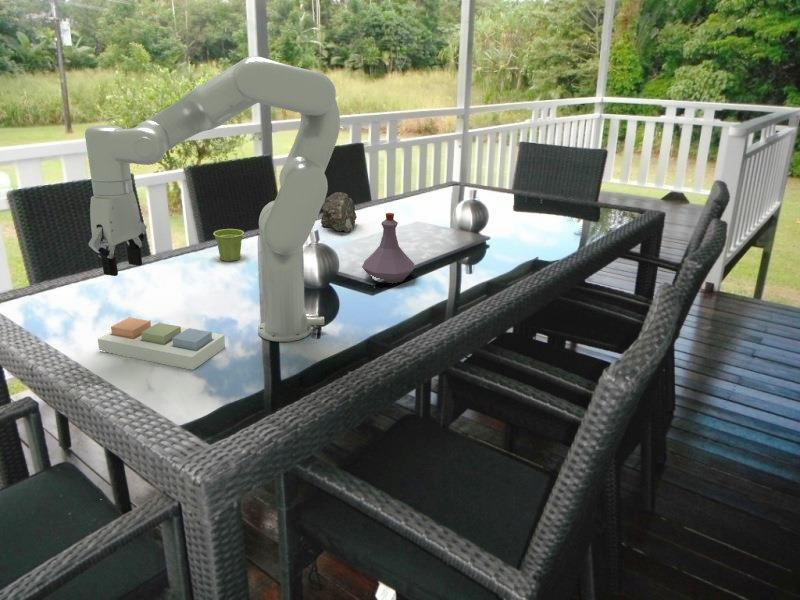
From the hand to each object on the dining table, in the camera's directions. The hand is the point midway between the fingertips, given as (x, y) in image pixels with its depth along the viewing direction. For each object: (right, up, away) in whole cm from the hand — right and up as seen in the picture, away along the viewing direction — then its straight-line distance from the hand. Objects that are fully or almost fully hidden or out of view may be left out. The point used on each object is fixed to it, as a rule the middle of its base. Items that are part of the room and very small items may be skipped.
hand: (123, 269), depth 136 cm
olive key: (+7, -15, +3) cm, 17 cm away
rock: (+36, +21, +107) cm, 114 cm away
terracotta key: (-1, -14, +5) cm, 15 cm away
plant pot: (+5, +6, +67) cm, 67 cm away
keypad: (+7, -18, +4) cm, 19 cm away
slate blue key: (+15, -16, +1) cm, 22 cm away
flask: (+56, 0, +54) cm, 78 cm away
